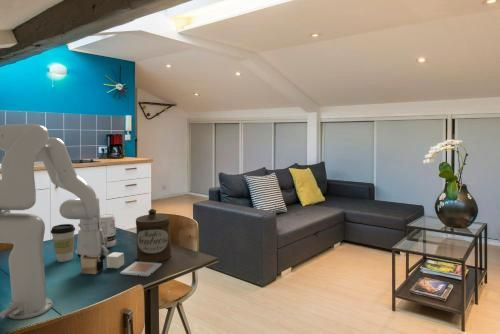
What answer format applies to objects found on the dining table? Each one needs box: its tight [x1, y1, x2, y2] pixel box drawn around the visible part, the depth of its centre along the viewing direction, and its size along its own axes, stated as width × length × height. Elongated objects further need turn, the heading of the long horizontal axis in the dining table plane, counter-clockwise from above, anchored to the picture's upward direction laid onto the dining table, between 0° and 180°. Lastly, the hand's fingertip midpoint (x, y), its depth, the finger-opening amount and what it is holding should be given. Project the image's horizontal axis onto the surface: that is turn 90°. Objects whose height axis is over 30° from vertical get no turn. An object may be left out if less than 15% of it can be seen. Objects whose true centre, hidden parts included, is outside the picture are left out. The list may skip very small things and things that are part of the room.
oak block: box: [80, 255, 105, 275], centre depth 152 cm, size 6×6×6 cm
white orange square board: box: [120, 261, 163, 277], centre depth 153 cm, size 12×12×1 cm
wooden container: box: [135, 208, 172, 263], centre depth 167 cm, size 15×15×22 cm
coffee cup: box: [50, 223, 76, 262], centre depth 166 cm, size 10×10×15 cm
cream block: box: [106, 251, 125, 269], centre depth 158 cm, size 5×5×5 cm
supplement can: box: [100, 213, 117, 249], centre depth 184 cm, size 8×8×15 cm
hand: (92, 269), depth 152 cm, fingers closed on oak block, 6 cm apart
